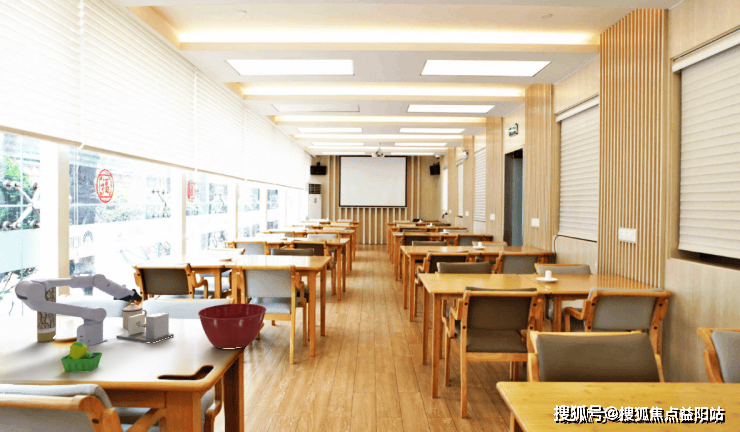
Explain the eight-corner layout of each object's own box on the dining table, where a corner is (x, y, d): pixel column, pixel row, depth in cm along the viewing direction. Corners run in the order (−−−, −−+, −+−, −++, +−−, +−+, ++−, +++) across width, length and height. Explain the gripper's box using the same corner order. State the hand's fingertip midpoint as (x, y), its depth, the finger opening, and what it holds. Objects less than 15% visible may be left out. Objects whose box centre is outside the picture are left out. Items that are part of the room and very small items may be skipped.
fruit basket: (103, 365, 161) (103, 335, 161) (89, 374, 153) (89, 342, 153) (72, 365, 161) (73, 335, 161) (56, 374, 152) (56, 342, 152)
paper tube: (45, 343, 189) (45, 286, 189) (33, 342, 190) (33, 285, 190) (59, 338, 195) (59, 284, 195) (47, 337, 197) (47, 283, 197)
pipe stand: (154, 339, 191) (154, 317, 191) (123, 335, 197) (123, 313, 197) (168, 334, 198) (168, 313, 198) (138, 330, 205) (138, 309, 205)
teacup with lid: (128, 329, 212) (128, 305, 212) (118, 326, 217) (118, 303, 217) (151, 324, 222) (151, 301, 222) (141, 321, 227) (141, 299, 227)
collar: (131, 334, 196) (131, 317, 196) (128, 334, 197) (128, 316, 197) (144, 330, 203) (144, 314, 203) (141, 330, 204) (141, 313, 204)
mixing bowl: (278, 346, 186) (278, 310, 186) (212, 360, 167) (213, 321, 167) (249, 332, 207) (249, 300, 207) (188, 344, 188) (188, 309, 188)
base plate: (152, 343, 188) (152, 340, 188) (116, 338, 196) (116, 335, 196) (173, 336, 200) (173, 333, 200) (139, 331, 208) (139, 329, 208)
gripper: (126, 280, 197) (149, 292, 207) (106, 280, 203) (128, 292, 213) (119, 294, 193) (143, 306, 203) (98, 294, 199) (122, 305, 209)
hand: (135, 299), depth 208 cm, fingers open, 7 cm apart
